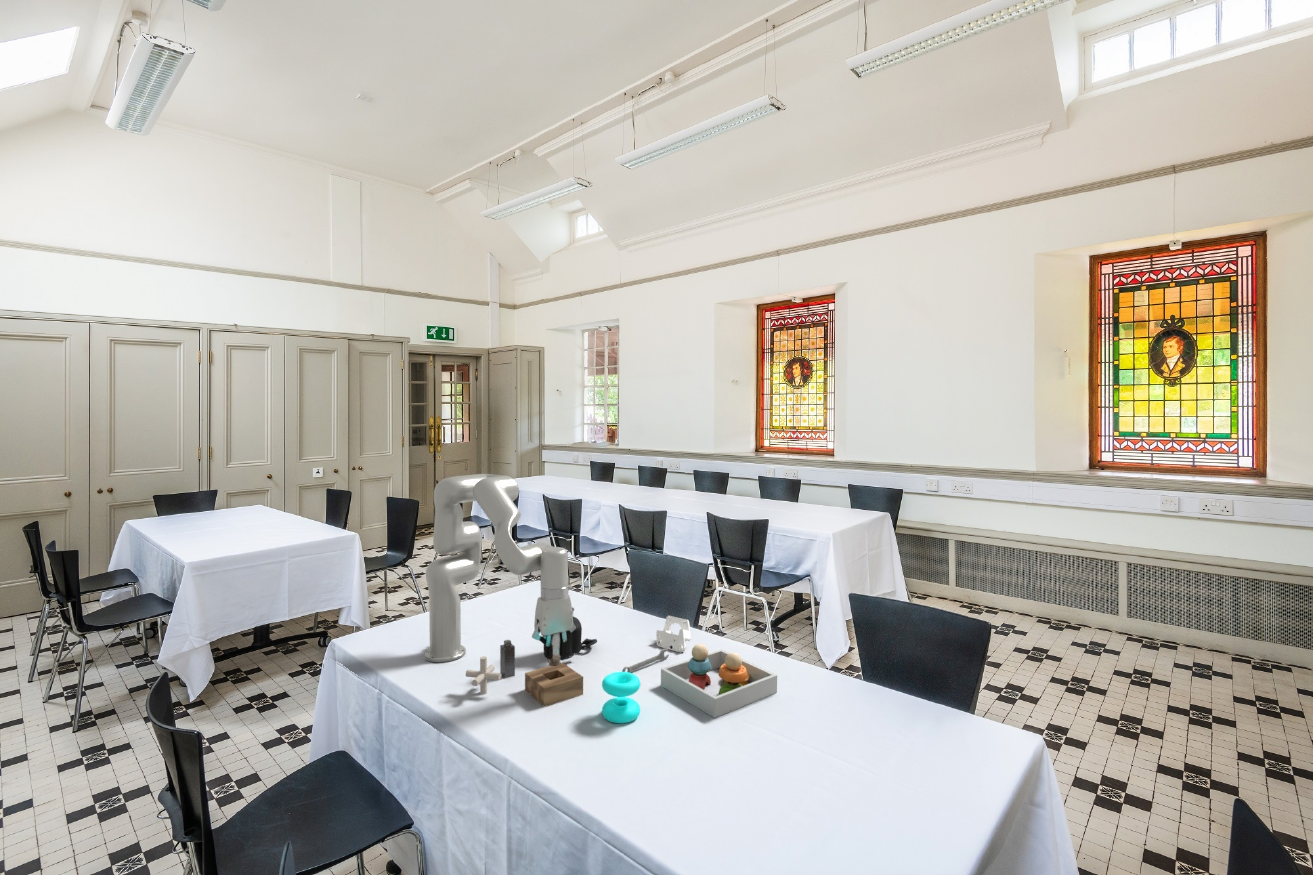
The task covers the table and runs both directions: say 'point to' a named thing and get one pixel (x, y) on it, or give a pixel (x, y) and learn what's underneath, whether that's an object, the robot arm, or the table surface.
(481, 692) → the pipe connector
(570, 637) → the milk frother
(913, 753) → the table surface
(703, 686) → the stacking toy figures
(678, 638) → the mounting bracket
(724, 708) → the parts tray
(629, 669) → the combination wrench
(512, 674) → the square bit
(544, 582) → the robot arm
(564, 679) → the socket block
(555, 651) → the round bit
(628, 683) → the donuts
